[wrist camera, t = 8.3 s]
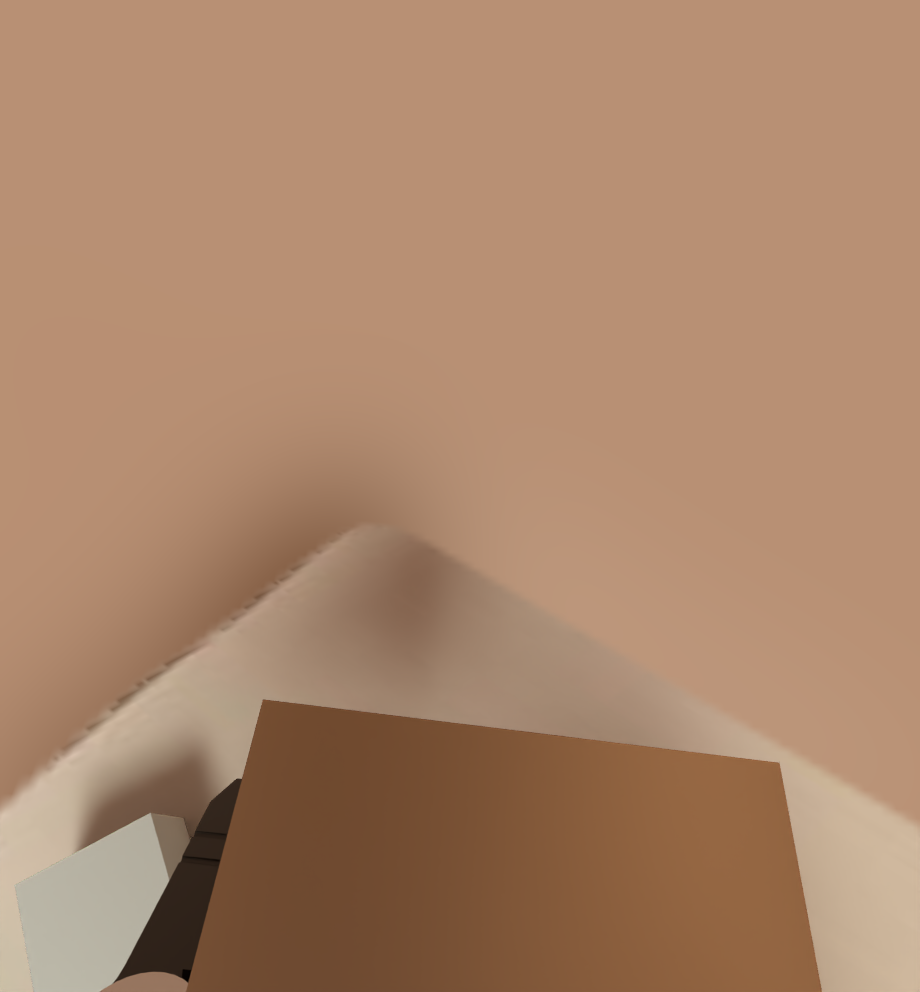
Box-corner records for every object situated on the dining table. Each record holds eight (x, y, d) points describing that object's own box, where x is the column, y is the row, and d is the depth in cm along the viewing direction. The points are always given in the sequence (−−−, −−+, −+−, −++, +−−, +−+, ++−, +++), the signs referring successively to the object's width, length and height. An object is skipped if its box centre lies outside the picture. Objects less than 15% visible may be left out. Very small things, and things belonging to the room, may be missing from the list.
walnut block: (524, 817, 14) (779, 763, 5) (517, 1083, 11) (974, 1811, 3) (332, 796, 13) (263, 699, 5) (282, 1063, 11) (-31, 1806, 2)
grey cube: (184, 817, 23) (150, 812, 19) (217, 927, 21) (186, 942, 18) (71, 878, 21) (14, 884, 18) (98, 1001, 20) (41, 1032, 16)
